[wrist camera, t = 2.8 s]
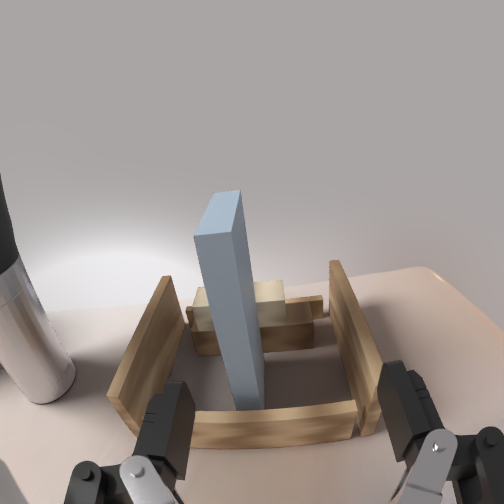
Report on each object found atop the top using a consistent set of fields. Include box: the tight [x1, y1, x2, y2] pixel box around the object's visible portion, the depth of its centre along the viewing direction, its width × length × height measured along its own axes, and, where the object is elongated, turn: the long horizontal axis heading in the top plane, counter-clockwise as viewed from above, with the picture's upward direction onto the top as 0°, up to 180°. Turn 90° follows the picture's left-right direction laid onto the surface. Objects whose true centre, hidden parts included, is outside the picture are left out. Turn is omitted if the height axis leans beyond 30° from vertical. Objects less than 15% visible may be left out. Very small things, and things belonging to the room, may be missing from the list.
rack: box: [106, 260, 383, 449], centre depth 31 cm, size 22×20×8 cm
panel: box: [194, 190, 265, 411], centre depth 26 cm, size 2×9×20 cm, turn 179°
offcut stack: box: [191, 280, 314, 356], centre depth 36 cm, size 14×4×8 cm, turn 89°
